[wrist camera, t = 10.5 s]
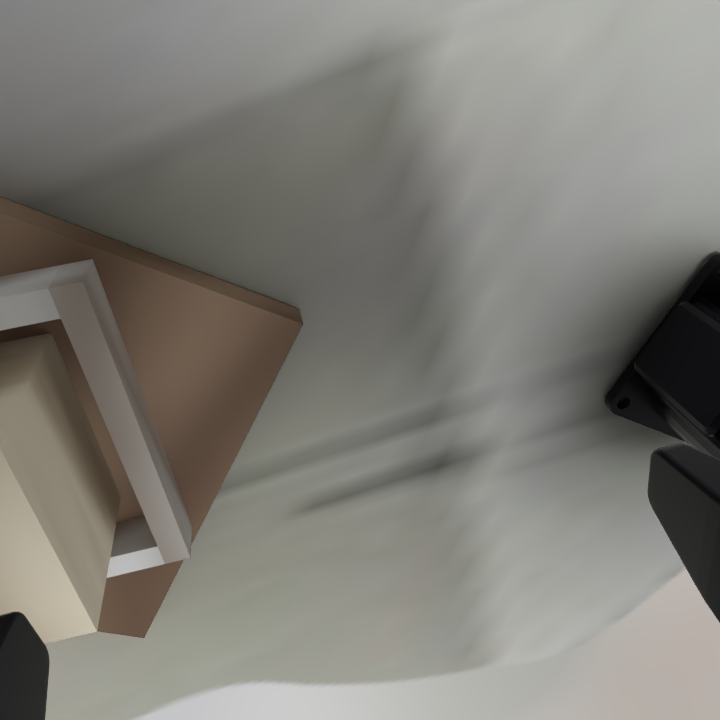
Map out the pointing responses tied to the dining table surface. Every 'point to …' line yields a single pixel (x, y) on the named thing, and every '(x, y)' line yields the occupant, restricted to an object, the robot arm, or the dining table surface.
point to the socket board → (145, 382)
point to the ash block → (51, 495)
